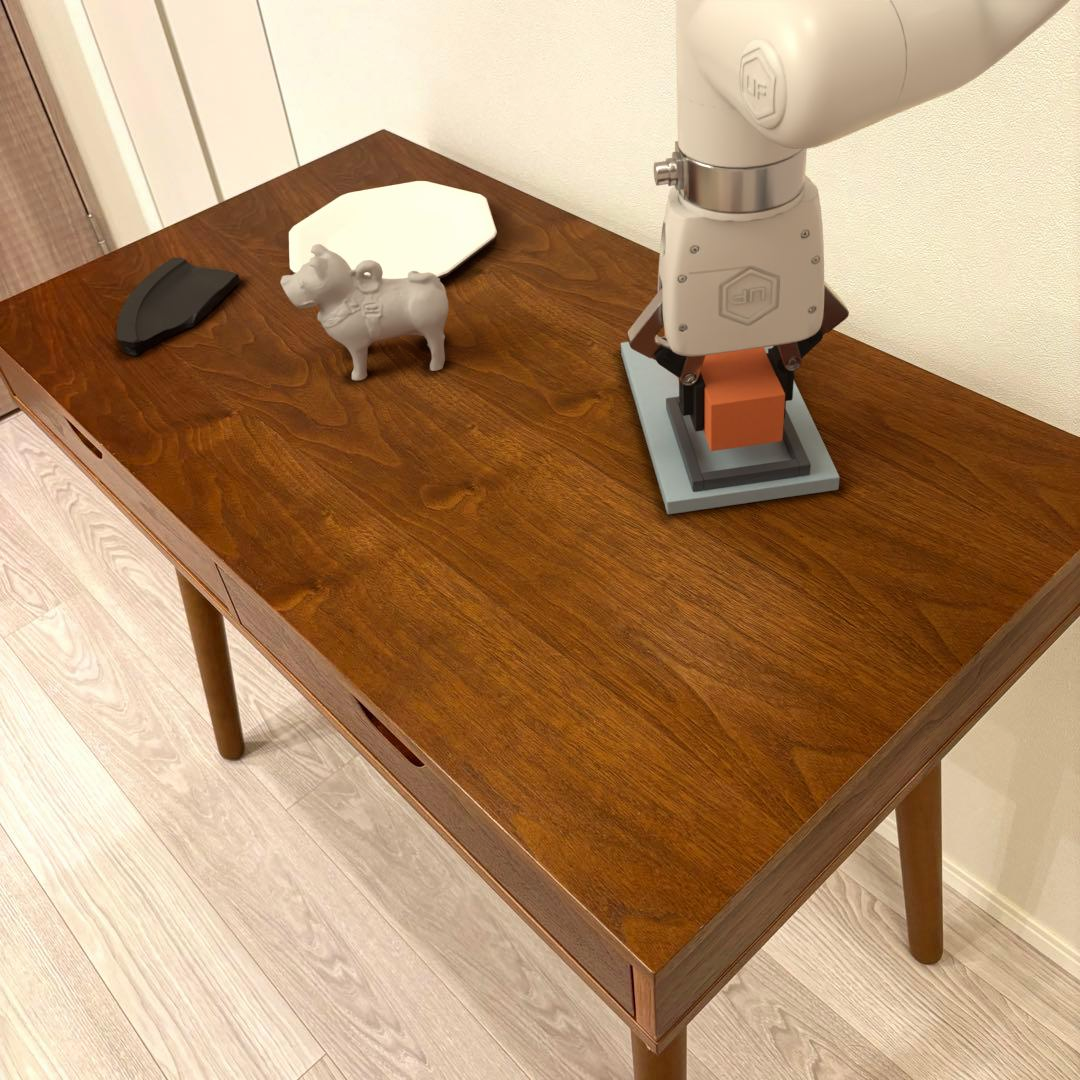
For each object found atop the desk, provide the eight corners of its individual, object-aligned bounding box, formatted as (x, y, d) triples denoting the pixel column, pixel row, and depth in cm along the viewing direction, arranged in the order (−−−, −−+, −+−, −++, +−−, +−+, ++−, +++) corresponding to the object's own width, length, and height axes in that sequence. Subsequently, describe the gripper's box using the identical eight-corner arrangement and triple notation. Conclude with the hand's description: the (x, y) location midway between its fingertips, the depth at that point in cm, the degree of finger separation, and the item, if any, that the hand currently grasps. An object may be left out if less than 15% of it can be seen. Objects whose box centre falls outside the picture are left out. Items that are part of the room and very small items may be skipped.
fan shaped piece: (83, 347, 103) (76, 331, 102) (176, 271, 111) (170, 256, 110) (156, 361, 100) (150, 345, 99) (245, 282, 108) (240, 266, 107)
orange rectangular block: (757, 382, 83) (759, 336, 81) (782, 441, 78) (785, 394, 76) (689, 392, 83) (689, 346, 81) (710, 451, 78) (710, 404, 75)
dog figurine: (308, 354, 98) (276, 242, 91) (455, 333, 98) (435, 219, 91) (305, 389, 94) (271, 275, 87) (458, 367, 94) (437, 251, 87)
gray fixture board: (765, 334, 94) (768, 278, 90) (838, 490, 79) (845, 430, 76) (621, 354, 94) (618, 299, 90) (667, 515, 79) (665, 456, 75)
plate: (291, 216, 118) (287, 202, 116) (479, 183, 119) (477, 170, 118) (294, 315, 103) (290, 300, 102) (508, 277, 104) (506, 262, 103)
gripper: (609, 219, 65) (624, 464, 78) (903, 177, 66) (871, 428, 78) (591, 162, 71) (607, 400, 83) (862, 124, 71) (838, 366, 83)
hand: (735, 411), depth 81 cm, fingers closed on orange rectangular block, 4 cm apart
